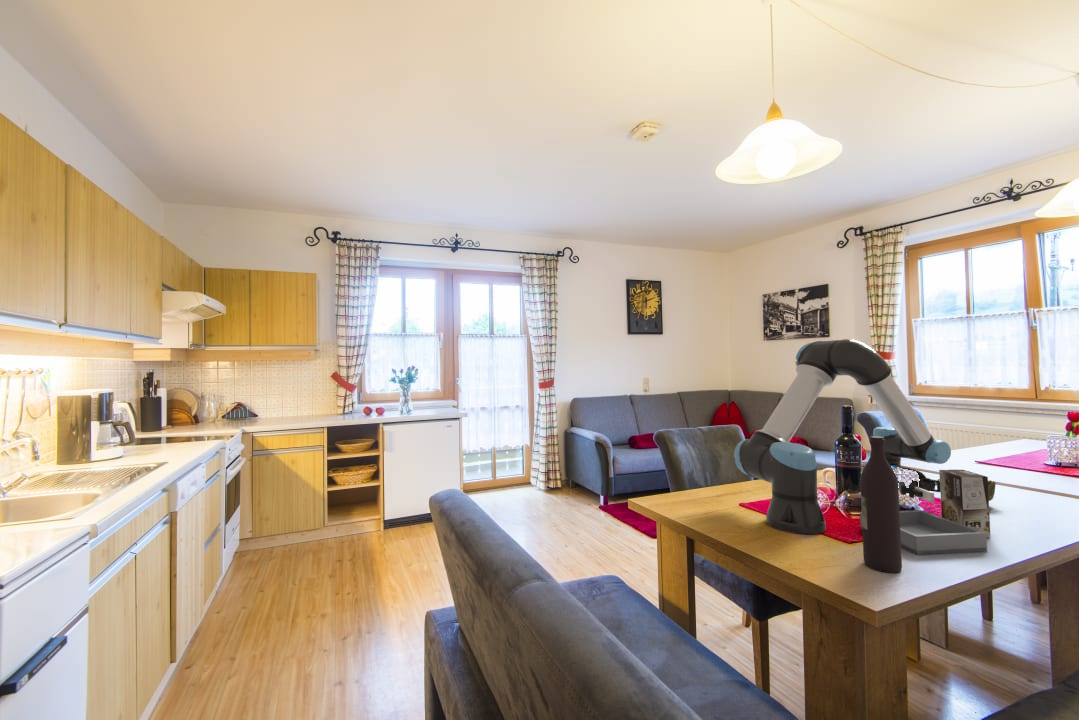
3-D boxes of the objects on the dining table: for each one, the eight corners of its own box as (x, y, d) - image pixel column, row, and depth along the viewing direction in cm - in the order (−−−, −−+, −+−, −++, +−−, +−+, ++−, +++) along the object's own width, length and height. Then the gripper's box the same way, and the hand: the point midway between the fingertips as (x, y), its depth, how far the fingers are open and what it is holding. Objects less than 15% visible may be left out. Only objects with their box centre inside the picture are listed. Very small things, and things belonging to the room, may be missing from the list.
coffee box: (992, 538, 118) (989, 476, 119) (963, 536, 120) (961, 476, 120) (966, 525, 127) (964, 469, 128) (940, 524, 129) (938, 468, 129)
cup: (970, 507, 143) (969, 482, 143) (960, 500, 150) (959, 476, 150) (1001, 509, 140) (1000, 484, 140) (990, 503, 146) (989, 478, 147)
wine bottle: (882, 559, 108) (877, 434, 108) (910, 572, 101) (904, 438, 101) (856, 561, 107) (850, 435, 107) (882, 575, 100) (876, 440, 100)
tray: (917, 555, 109) (916, 536, 109) (860, 528, 127) (860, 512, 127) (987, 551, 110) (986, 533, 110) (921, 526, 128) (920, 510, 128)
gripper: (949, 490, 146) (1009, 511, 125) (866, 490, 149) (911, 510, 128) (948, 467, 146) (1007, 484, 125) (865, 467, 149) (910, 484, 128)
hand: (959, 498), depth 126 cm, fingers open, 13 cm apart
